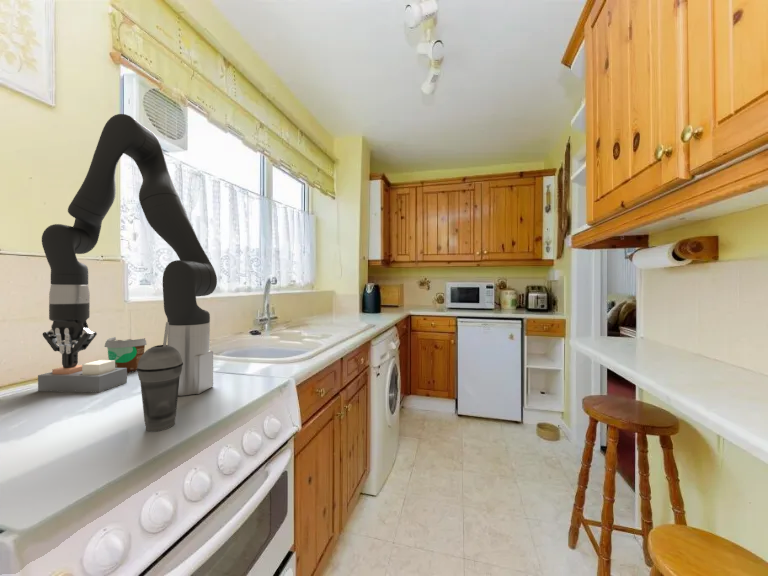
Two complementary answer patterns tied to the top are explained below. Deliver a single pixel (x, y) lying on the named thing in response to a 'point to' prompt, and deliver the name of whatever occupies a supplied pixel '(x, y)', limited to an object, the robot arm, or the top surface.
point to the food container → (125, 352)
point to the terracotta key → (67, 370)
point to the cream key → (98, 367)
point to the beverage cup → (160, 384)
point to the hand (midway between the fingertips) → (69, 367)
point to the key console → (81, 381)
